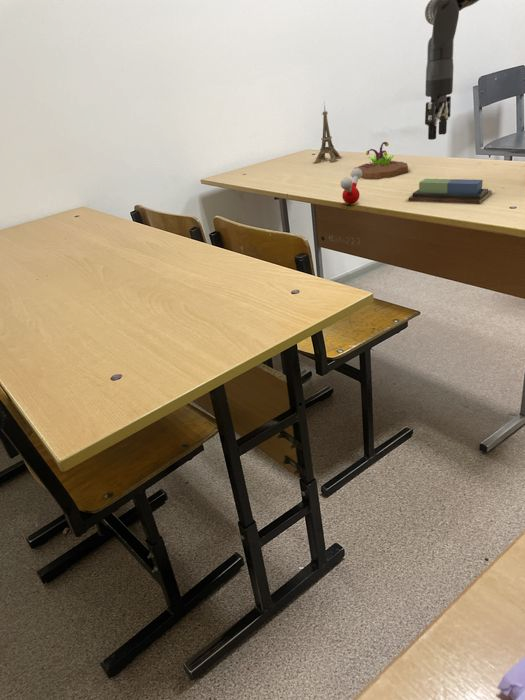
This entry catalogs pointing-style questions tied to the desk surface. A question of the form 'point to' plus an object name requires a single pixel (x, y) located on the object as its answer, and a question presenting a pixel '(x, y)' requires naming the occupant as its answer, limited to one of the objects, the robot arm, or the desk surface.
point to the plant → (382, 166)
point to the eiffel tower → (330, 148)
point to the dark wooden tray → (450, 197)
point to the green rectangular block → (433, 185)
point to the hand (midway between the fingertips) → (437, 136)
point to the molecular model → (351, 187)
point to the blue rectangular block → (464, 186)
